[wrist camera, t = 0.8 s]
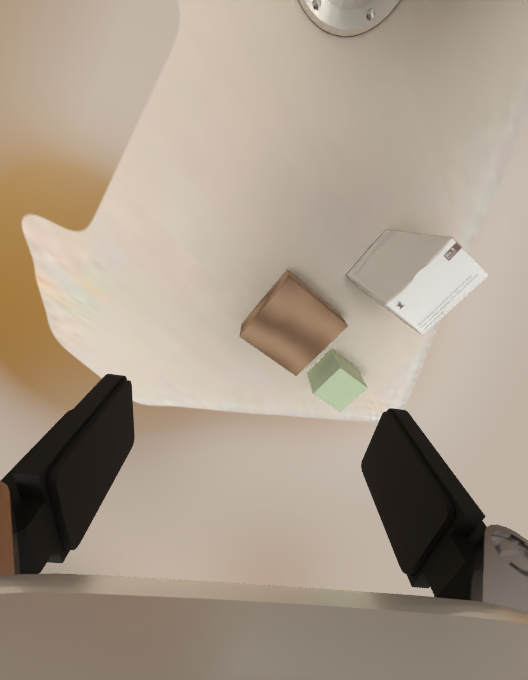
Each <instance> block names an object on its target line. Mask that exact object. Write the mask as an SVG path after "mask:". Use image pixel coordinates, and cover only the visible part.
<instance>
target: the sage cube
mask: <svg viewBox="0 0 528 680" xmlns="http://www.w3.org/2000/svg"><path fill="white" fill-rule="evenodd" d="M308 377H309V381H310V384H311V388H312V392H313V394H314V395H316V396H317V397H319V398H320V399H322V400H323V401H325V402H326V403H328V404H329V405H331V406H332V407H334V408H335V409H337V410H338V411H340V412H341V411H342V410H343V409H344V408H345V407H347V406H348V405H349V404H350V403H351V402H352V401H353V400H355V399H356V398H357V397H358V396H359V395H360V394H362V393H363V392H364V391H365V390H366V389H367V388H368V387H367V386H366V384H365V382H364V380H363V379H362V377H361V375H360V373H359V372H358V370H357V368H356V367H355V366H354V365H352V364H351V363H349V362H348V361H347V360H345V359H344V358H343V357H341V356H340V355H339V354H337V353H336V352H335V351H333V350H332V349H331V350H330V351H329V352H328V353H327V354H326V355H325V356H324V357H323V358H322V359H321V360H320V361H319V362H318V363H317V364H316V365H315V366H314V367H313V368H312V369H311V370H310V371H309V372H308Z"/></svg>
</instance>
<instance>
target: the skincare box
mask: <svg viewBox="0 0 528 680" xmlns="http://www.w3.org/2000/svg"><path fill="white" fill-rule="evenodd" d="M346 276H347V277H348V278H349V279H350V280H351V281H353V282H354V283H355V284H356V285H357V286H358V287H360V288H361V289H362V290H363V291H364V292H365V293H367V294H368V295H369V296H370V297H371V298H373V299H374V300H375V301H376V302H378V303H379V304H380V305H382V306H383V307H385V308H386V309H387V310H389V311H390V312H391V313H393V314H394V315H395V316H397V317H398V318H399V319H400V320H402V321H403V322H405V323H406V324H407V325H409V326H410V327H412V328H413V329H414V330H416V331H417V332H419V333H420V334H422V335H424V334H425V333H426V332H428V331H429V330H430V329H431V328H432V327H433V326H434V325H435V324H436V323H437V322H438V321H439V320H441V319H442V318H443V317H444V316H445V315H446V314H447V313H448V312H449V311H450V310H451V309H453V308H454V307H455V306H456V305H457V304H458V303H459V302H460V301H461V300H462V299H463V298H465V297H466V296H467V295H468V294H469V293H470V292H471V291H472V290H473V289H474V288H475V287H476V286H477V285H479V284H480V283H481V282H482V281H483V280H484V279H485V278H486V277H487V276H488V274H487V273H486V272H485V271H484V270H483V269H482V268H481V267H480V266H479V264H477V263H476V262H475V260H474V259H472V257H471V256H470V255H469V254H468V253H467V252H466V251H465V250H464V249H463V248H462V247H461V246H460V245H459V243H458V242H457V241H456V240H455V239H454V238H453V237H444V236H435V235H426V234H418V233H408V232H400V231H390V230H385V231H384V233H383V234H382V235H381V236H380V237H379V238H378V239H377V240H376V242H375V243H374V244H373V245H372V246H371V247H370V248H369V249H368V250H367V252H366V253H365V254H364V255H363V256H362V257H361V258H360V260H359V261H358V262H357V263H356V264H355V266H354V267H353V268H352V269H351V270H350V271H349V272H348V273H347V275H346Z"/></svg>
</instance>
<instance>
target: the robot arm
mask: <svg viewBox="0 0 528 680" xmlns="http://www.w3.org/2000/svg"><path fill="white" fill-rule="evenodd" d="M399 1H400V0H299V2H300V4H301V6H302V7H303V9H304V11H305V12H306V13H307V15H308V16H309V17H310V19H311V20H312V21H313V22H314V23H315V24H317V25H318V26H319V27H320V28H321V29H323V30H325V31H327V32H329V33H331V34H335V35H340V36H353V35H357V34H360V33H363V32H366V31H368V30H370V29H371V28H373V27H375V26H376V25H378V24H379V23H380V22H381V21H382V20H383V19H384V18H386V17H387V16H388V15H389V14H390V12H391V11H392V10H393V9H394V7H395V6H396V5H397V4H398V2H399ZM314 6H316V7H317V8H318V10H315V9H313V7H314ZM366 17H369V18H370V21H369V20H367V18H366ZM133 443H134V421H133V403H132V385H131V381H128V380H127V378H126V377H125V376H121V375H113V374H107V375H105V376H104V377H103V378H102V379H101V381H99V383H98V384H97V385H96V386H95V387H94V388H93V389H92V390H91V391H90V392H89V393H88V394H87V395H86V396H85V397H84V398H83V399H82V401H81V402H80V403H79V404H78V405H77V406H76V407H75V408H74V409H72V410H70V411H68V412H67V413H66V414H65V415H64V416H63V417H62V418H61V419H60V420H59V421H58V422H57V423H56V424H55V425H54V426H53V427H52V428H51V430H49V431H48V433H46V435H45V436H44V437H43V438H42V439H41V440H40V441H39V442H38V443H37V444H36V445H35V446H34V447H33V448H32V449H31V450H30V451H29V452H28V453H27V454H26V455H25V456H24V457H23V458H22V459H21V460H20V461H19V462H18V463H17V465H15V467H14V468H13V469H12V470H11V471H10V472H9V473H8V474H7V475H6V476H5V477H4V478H3V479H2V480H1V481H0V680H528V540H526V539H525V538H524V537H522V536H520V535H519V534H518V533H516V532H515V531H513V530H511V529H508V528H507V527H503V526H500V525H490V526H488V527H486V525H485V524H484V522H483V521H482V520H483V519H484V518H485V515H484V514H483V512H482V511H481V510H480V509H479V507H478V506H477V504H476V503H475V502H474V500H473V499H472V498H471V496H470V495H469V494H468V492H467V491H466V490H465V488H464V487H463V486H462V484H461V483H460V482H459V480H458V479H457V478H456V476H455V475H454V474H453V472H452V471H451V470H450V468H449V467H448V465H447V464H446V463H445V462H444V460H443V459H442V457H441V456H440V455H439V453H438V452H437V451H436V449H435V448H434V447H433V445H432V444H431V443H430V441H429V440H428V439H427V437H426V436H425V434H424V433H423V432H422V430H421V429H420V428H419V426H418V425H417V424H416V422H415V421H414V420H413V418H412V417H411V416H410V414H409V413H408V412H407V411H406V410H400V409H392V408H391V409H388V410H387V412H384V413H383V414H382V416H381V418H380V420H379V423H378V425H377V427H376V430H375V432H374V435H373V437H372V439H371V441H370V444H369V446H368V448H367V451H366V453H365V455H364V458H363V460H362V464H361V467H362V472H363V475H364V477H365V480H366V482H367V485H368V487H369V490H370V492H371V495H372V498H373V500H374V503H375V505H376V508H377V510H378V513H379V515H380V517H381V520H382V523H383V525H384V528H385V530H386V533H387V535H388V538H389V540H390V543H391V545H392V548H393V550H394V553H395V556H396V558H397V561H398V563H399V566H400V567H401V570H402V571H403V572H404V573H405V574H407V576H408V579H409V581H410V583H411V586H412V587H420V588H421V587H422V588H429V587H431V589H432V591H433V593H434V597H426V596H414V595H401V594H387V593H372V592H358V591H344V590H331V589H315V588H301V587H286V586H271V585H256V584H240V583H224V582H208V581H190V580H175V579H158V578H141V577H125V576H101V575H100V576H99V575H76V574H75V575H74V574H39V573H40V572H41V571H42V569H43V567H44V566H45V564H46V563H47V562H52V563H63V561H64V560H65V558H66V556H67V554H68V553H69V551H70V550H74V549H76V548H77V547H78V545H79V544H80V542H81V540H82V538H83V537H84V535H85V533H86V531H87V529H88V527H89V526H90V524H91V522H92V520H93V518H94V516H95V515H96V513H97V511H98V509H99V507H100V505H101V503H102V502H103V500H104V498H105V496H106V494H107V492H108V491H109V489H110V487H111V485H112V483H113V481H114V480H115V478H116V476H117V474H118V472H119V470H120V468H121V466H122V465H123V463H124V461H125V459H126V458H127V456H128V454H129V452H130V450H131V448H132V446H133Z"/></svg>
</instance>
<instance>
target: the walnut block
mask: <svg viewBox="0 0 528 680" xmlns="http://www.w3.org/2000/svg"><path fill="white" fill-rule="evenodd" d="M347 326H348V325H347V324H346V322H345V321H344V319H343V318H342V317H341V315H340V314H339V313H338V312H337V311H336V310H334V309H333V308H332V307H331V306H330V305H329V304H327V303H326V302H325V301H324V300H323V299H321V298H320V297H319V296H318V295H317V294H315V293H314V292H313V291H312V290H311V289H309V288H308V287H307V286H306V285H305V284H304V283H302V282H301V281H300V280H299V279H298V278H296V277H295V276H294V275H293V274H292V273H290V272H289V271H288V270H286V272H285V273H284V274H283V275H282V276H281V277H280V279H279V280H278V281H277V282H276V283H275V285H274V286H273V287H272V288H271V289H270V291H269V292H268V293H267V294H266V295H265V297H264V298H263V299H262V300H261V301H260V303H259V304H258V305H257V306H256V307H255V309H254V310H253V311H252V312H251V313H250V315H249V316H248V317H247V318H246V319H245V321H244V322H243V323H242V326H241V332H240V337H241V338H242V339H244V340H245V341H247V342H248V343H250V344H251V345H253V346H254V347H255V348H257V349H258V350H260V351H261V352H263V353H264V354H265V355H267V356H268V357H270V358H271V359H273V360H274V361H275V362H277V363H278V364H280V365H281V366H283V367H284V368H285V369H287V370H288V371H290V372H291V373H293V374H294V375H295V376H297V375H298V374H299V373H300V372H301V371H302V370H303V369H304V368H305V367H306V366H307V365H308V364H309V363H310V362H311V361H312V360H313V359H314V358H315V357H316V356H317V355H318V354H319V353H321V352H322V351H323V350H324V349H325V348H326V347H327V346H328V345H329V344H330V343H331V342H332V341H333V340H334V339H335V338H336V337H337V336H338V335H339V334H340V333H341V332H342V331H343V330H344V329H345V328H346V327H347Z"/></svg>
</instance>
